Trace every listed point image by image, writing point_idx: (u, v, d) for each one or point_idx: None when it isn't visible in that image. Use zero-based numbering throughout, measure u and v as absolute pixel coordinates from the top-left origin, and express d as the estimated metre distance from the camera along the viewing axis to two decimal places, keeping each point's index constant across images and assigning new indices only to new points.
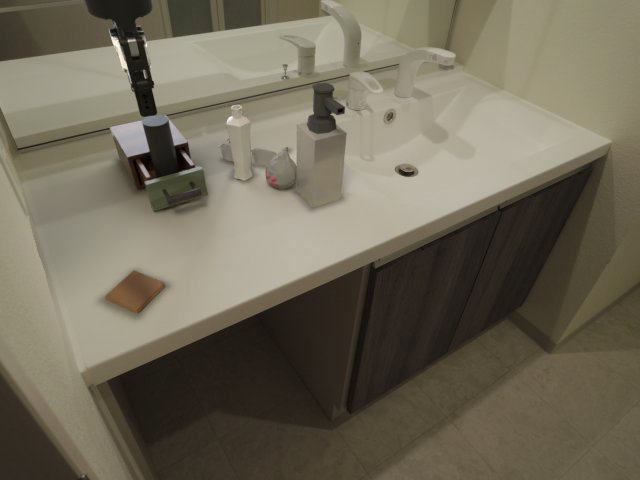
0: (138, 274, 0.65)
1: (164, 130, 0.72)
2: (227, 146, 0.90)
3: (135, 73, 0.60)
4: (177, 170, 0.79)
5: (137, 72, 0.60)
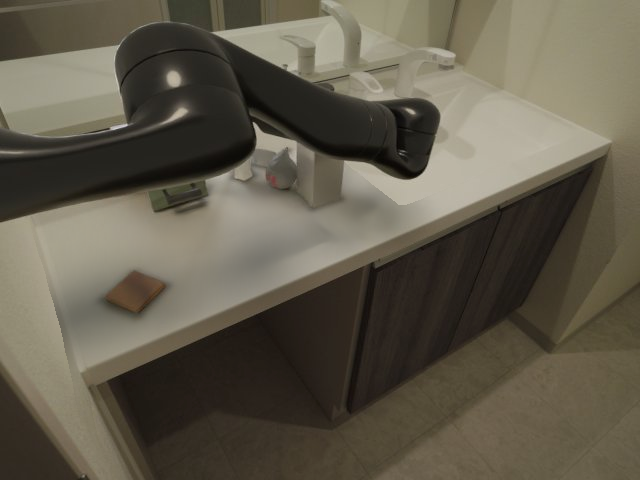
0: (138, 274, 0.65)
1: None
2: None
3: None
4: None
5: None
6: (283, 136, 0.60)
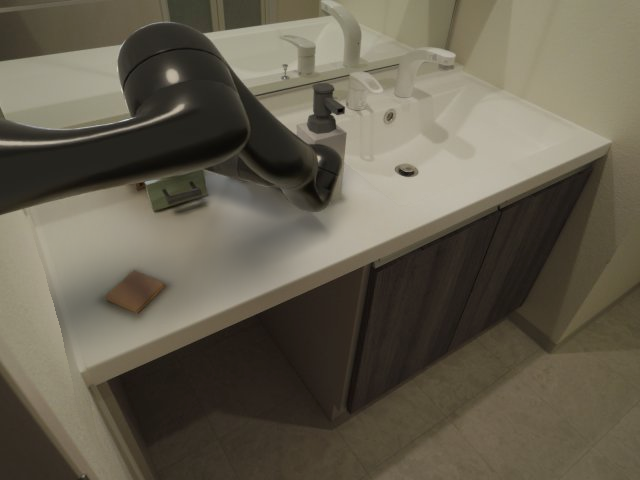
0: (138, 274, 0.65)
1: None
2: None
3: None
4: None
5: None
6: (215, 172, 0.70)
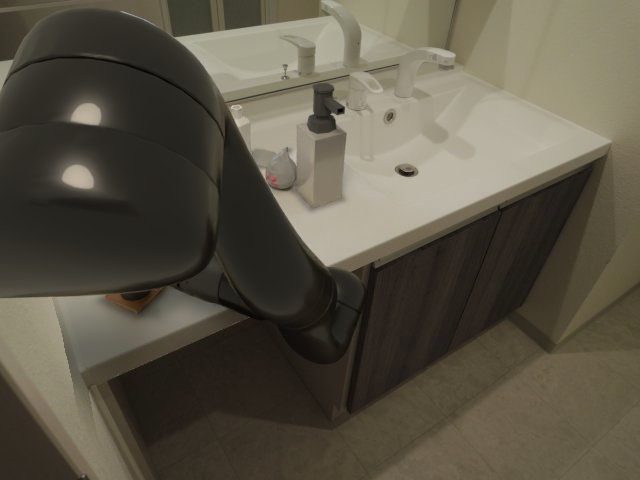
0: None
1: None
2: None
3: None
4: None
5: None
6: None
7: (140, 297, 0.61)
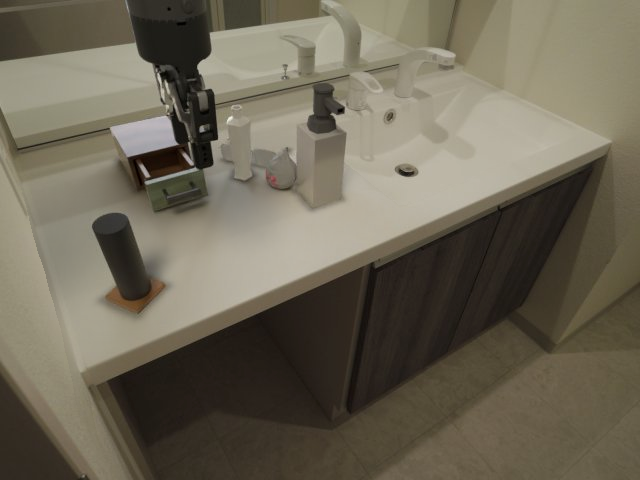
0: None
1: (122, 236, 0.53)
2: (227, 146, 0.90)
3: (181, 123, 0.53)
4: (144, 277, 0.60)
5: (183, 122, 0.53)
6: (202, 17, 0.41)
7: (140, 297, 0.61)
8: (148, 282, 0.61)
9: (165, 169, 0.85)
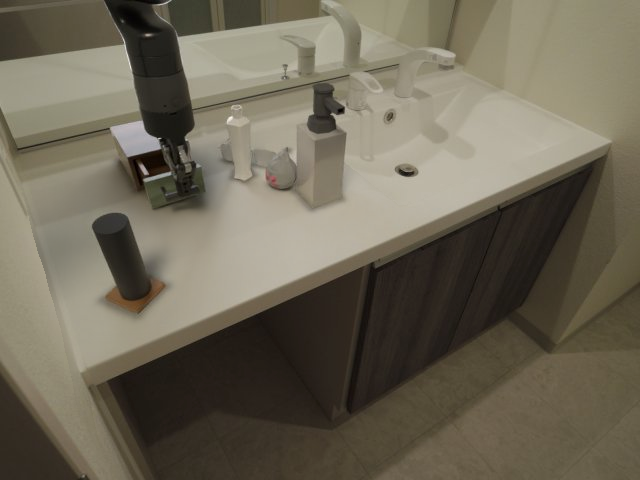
0: None
1: (122, 236, 0.53)
2: (227, 146, 0.90)
3: None
4: (144, 277, 0.60)
5: None
6: (187, 107, 0.62)
7: (140, 297, 0.61)
8: (148, 282, 0.61)
9: (164, 167, 0.85)
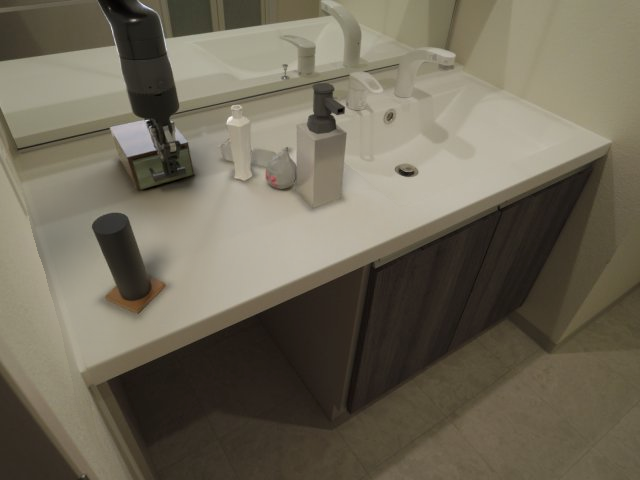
0: None
1: (122, 236, 0.53)
2: (227, 146, 0.90)
3: None
4: (144, 277, 0.60)
5: None
6: (171, 89, 0.66)
7: (140, 297, 0.61)
8: (148, 282, 0.61)
9: None
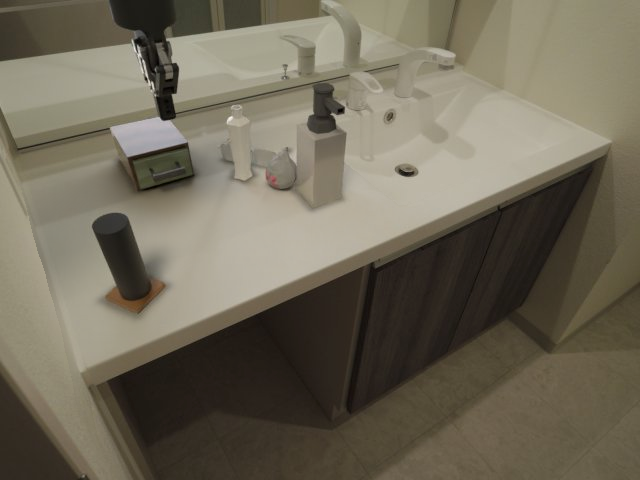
0: None
1: (122, 236, 0.53)
2: (227, 146, 0.90)
3: None
4: (144, 277, 0.60)
5: None
6: None
7: (140, 297, 0.61)
8: (148, 282, 0.61)
9: None
